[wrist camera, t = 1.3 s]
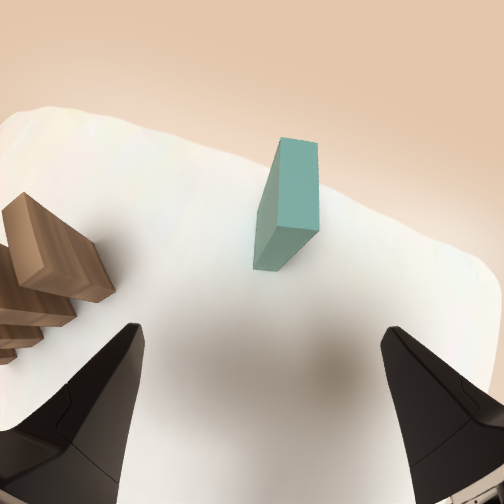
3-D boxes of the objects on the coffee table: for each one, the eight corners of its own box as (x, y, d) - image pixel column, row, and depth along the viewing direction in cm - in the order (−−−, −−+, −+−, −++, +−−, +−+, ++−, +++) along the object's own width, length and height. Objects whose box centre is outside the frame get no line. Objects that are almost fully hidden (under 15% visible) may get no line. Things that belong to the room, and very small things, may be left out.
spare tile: (280, 214, 25) (317, 143, 15) (277, 271, 24) (318, 230, 13) (257, 212, 25) (280, 137, 14) (252, 269, 24) (277, 225, 13)
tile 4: (92, 242, 23) (23, 191, 12) (115, 291, 22) (44, 266, 12) (76, 253, 23) (1, 210, 12) (97, 303, 22) (19, 285, 11)
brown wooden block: (56, 267, 22) (-23, 233, 11) (76, 316, 21) (-6, 307, 11) (42, 278, 22) (-38, 249, 11) (61, 326, 21) (-23, 322, 10)
